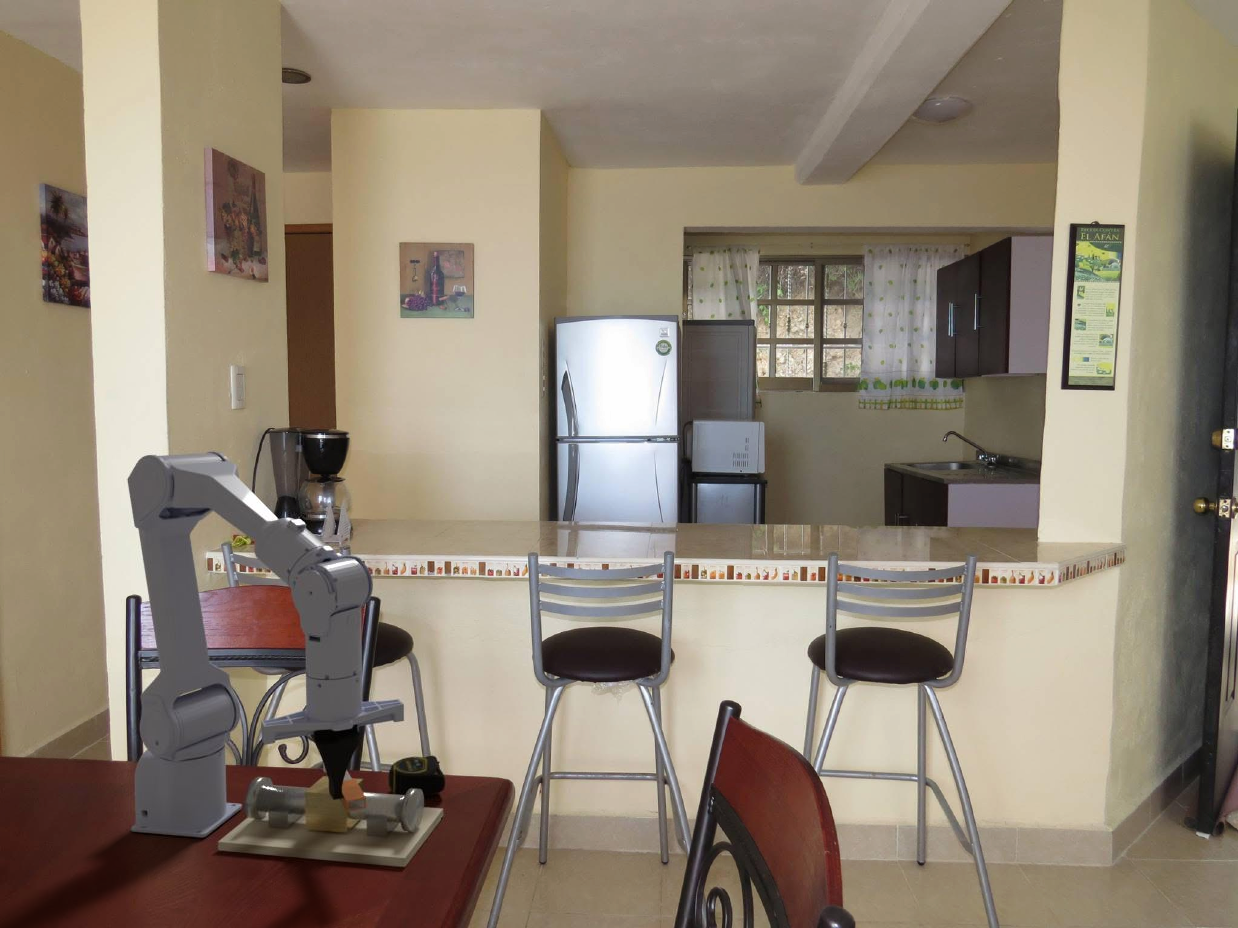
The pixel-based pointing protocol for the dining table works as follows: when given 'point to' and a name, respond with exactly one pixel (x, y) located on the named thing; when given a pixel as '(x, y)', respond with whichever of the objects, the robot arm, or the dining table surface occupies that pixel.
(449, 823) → the dining table surface
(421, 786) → the tape measure
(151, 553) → the robot arm
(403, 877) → the dining table surface
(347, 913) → the dining table surface
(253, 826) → the board
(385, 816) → the ball valve
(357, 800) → the valve lever
